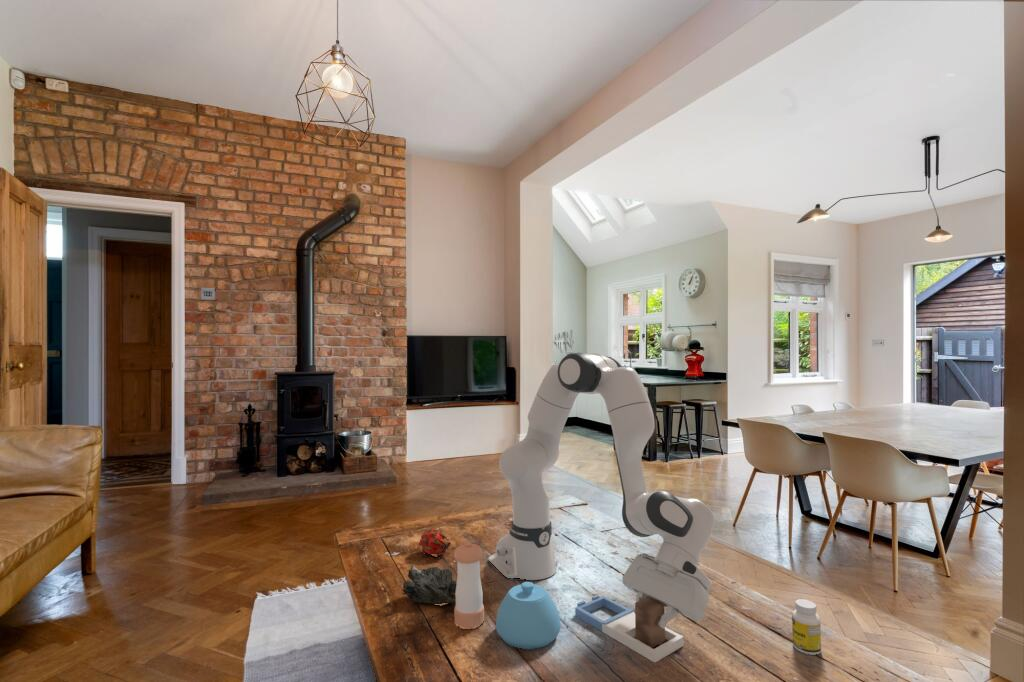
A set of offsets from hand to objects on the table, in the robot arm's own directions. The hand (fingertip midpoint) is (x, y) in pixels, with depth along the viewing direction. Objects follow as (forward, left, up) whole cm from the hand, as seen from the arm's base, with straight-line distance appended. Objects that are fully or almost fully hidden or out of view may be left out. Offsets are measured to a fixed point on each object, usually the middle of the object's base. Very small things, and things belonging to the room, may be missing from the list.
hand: (648, 620), depth 115 cm
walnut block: (0, +1, -4) cm, 4 cm away
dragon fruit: (-75, -13, -5) cm, 76 cm away
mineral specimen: (-48, -28, -6) cm, 56 cm away
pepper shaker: (-33, -26, -5) cm, 42 cm away
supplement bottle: (+22, +26, -5) cm, 34 cm away
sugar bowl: (-20, -18, -6) cm, 28 cm away
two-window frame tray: (-7, +1, -5) cm, 9 cm away
